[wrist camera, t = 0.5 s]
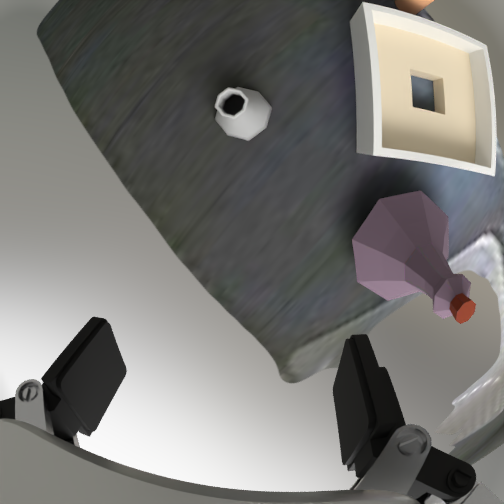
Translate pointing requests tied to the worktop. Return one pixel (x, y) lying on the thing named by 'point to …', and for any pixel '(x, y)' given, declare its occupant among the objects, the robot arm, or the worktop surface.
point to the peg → (412, 5)
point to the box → (400, 91)
